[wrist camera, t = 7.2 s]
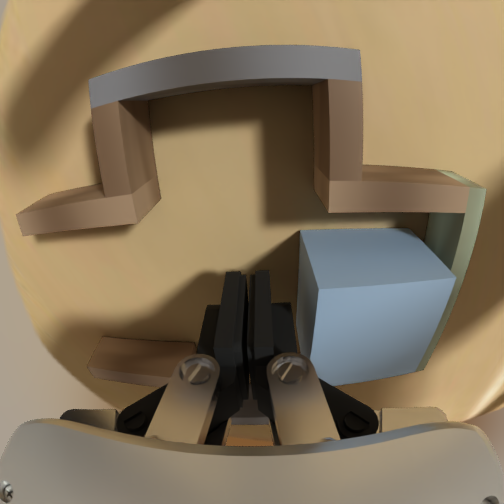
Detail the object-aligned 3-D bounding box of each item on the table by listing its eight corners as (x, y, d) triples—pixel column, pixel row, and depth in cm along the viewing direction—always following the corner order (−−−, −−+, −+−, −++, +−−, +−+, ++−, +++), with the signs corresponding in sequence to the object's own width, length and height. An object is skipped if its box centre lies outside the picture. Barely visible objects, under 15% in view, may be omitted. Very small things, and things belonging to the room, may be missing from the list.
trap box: (455, 84, 8) (492, 86, 6) (391, 378, 16) (401, 406, 14) (34, 115, 9) (-2, 123, 7) (129, 384, 17) (119, 412, 15)
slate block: (408, 228, 11) (456, 277, 8) (387, 314, 14) (414, 371, 10) (299, 230, 11) (318, 289, 8) (296, 322, 14) (305, 388, 10)
